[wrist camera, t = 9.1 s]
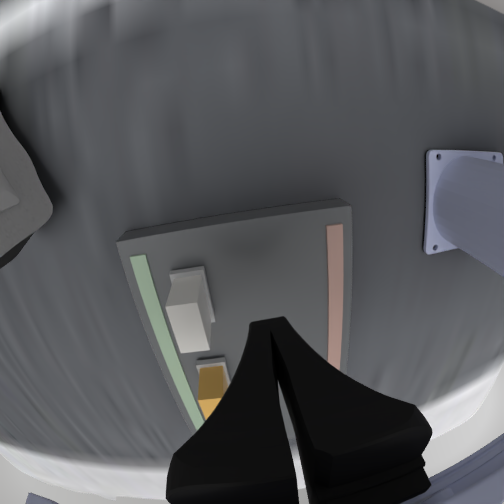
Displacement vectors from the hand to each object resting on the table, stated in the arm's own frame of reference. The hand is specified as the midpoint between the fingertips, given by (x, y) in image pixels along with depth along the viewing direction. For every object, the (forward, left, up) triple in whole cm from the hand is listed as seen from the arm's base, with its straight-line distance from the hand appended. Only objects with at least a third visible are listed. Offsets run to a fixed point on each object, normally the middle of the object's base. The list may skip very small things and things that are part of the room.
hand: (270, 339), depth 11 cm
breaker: (+4, +1, -7) cm, 8 cm away
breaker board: (+1, +8, -9) cm, 12 cm away
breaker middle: (+4, +8, -7) cm, 11 cm away
